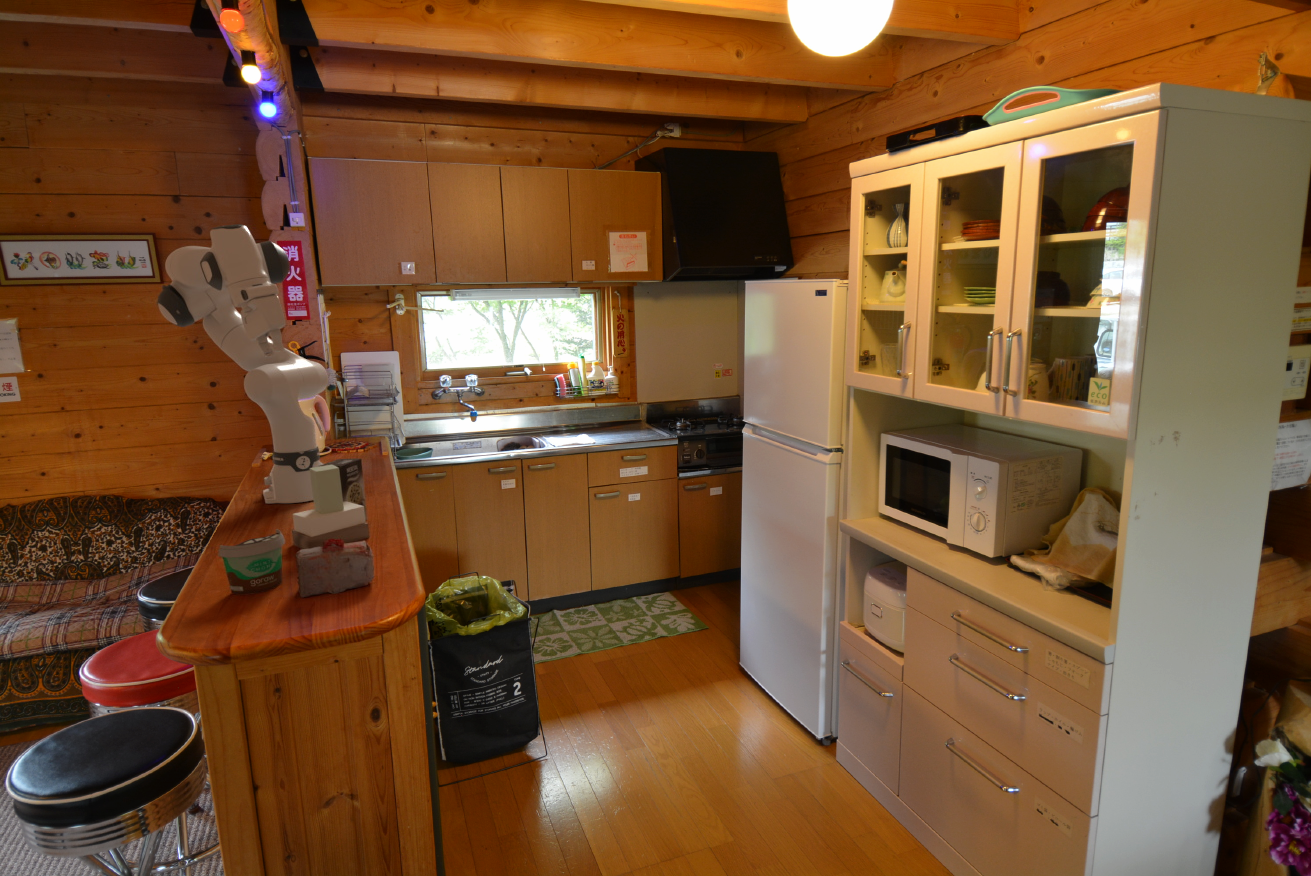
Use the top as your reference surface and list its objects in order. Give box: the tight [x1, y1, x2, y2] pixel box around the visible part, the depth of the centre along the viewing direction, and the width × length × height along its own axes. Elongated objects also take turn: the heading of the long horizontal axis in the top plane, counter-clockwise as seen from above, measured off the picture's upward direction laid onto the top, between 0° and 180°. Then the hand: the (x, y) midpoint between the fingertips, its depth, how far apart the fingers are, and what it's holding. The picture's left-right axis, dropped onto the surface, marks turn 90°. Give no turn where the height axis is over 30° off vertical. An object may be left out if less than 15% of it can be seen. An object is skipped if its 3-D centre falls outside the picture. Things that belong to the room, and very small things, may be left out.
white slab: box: [292, 501, 367, 537], centre depth 174 cm, size 8×13×4 cm, turn 141°
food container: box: [218, 528, 286, 595], centre depth 145 cm, size 12×6×10 cm, turn 148°
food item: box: [294, 538, 375, 599], centre depth 144 cm, size 14×8×10 cm, turn 118°
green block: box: [310, 465, 344, 514], centre depth 172 cm, size 5×5×10 cm
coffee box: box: [319, 458, 368, 521], centre depth 186 cm, size 9×6×16 cm
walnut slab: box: [291, 522, 371, 550], centre depth 174 cm, size 9×14×4 cm, turn 137°
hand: (274, 353), depth 173 cm, fingers open, 8 cm apart
